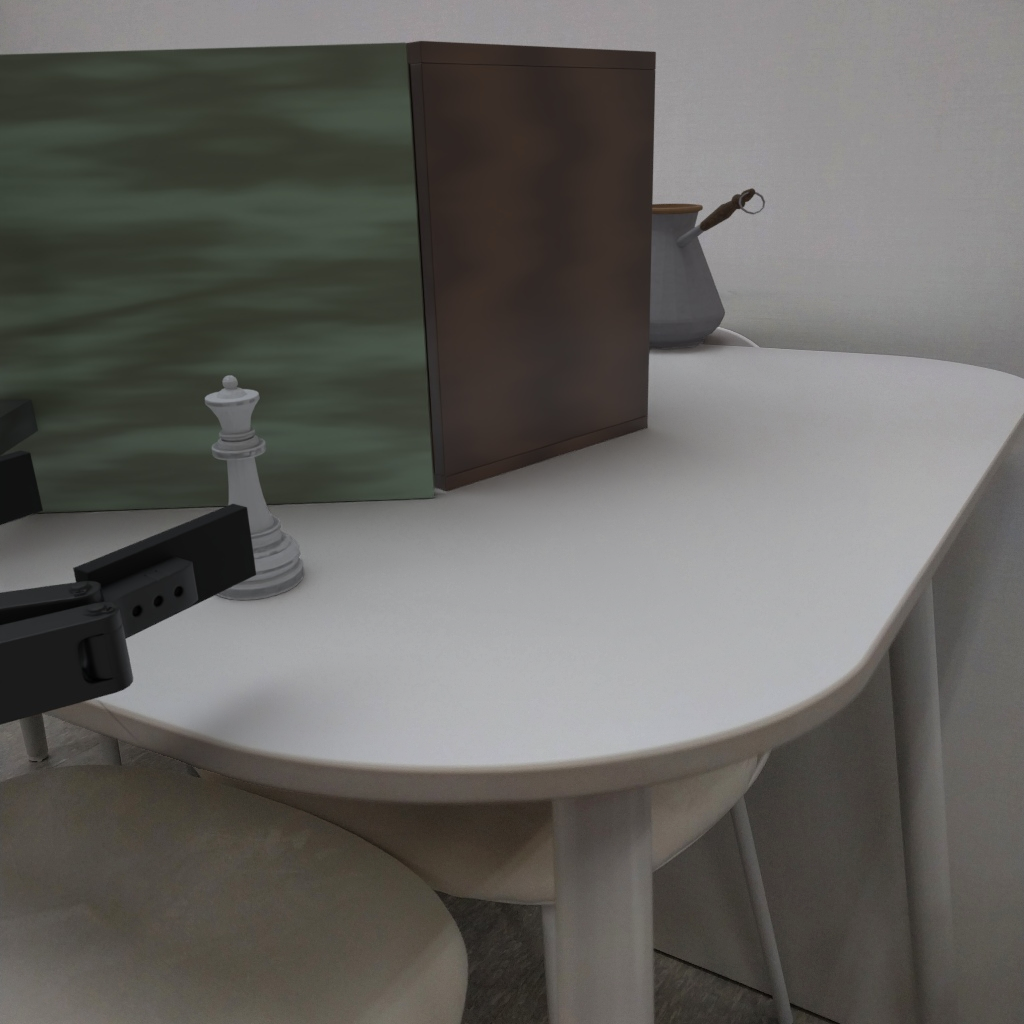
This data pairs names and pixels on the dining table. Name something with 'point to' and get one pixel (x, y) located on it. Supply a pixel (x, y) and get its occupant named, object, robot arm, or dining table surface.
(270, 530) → the chess piece
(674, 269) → the coffee pot
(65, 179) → the cabinet door
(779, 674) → the dining table surface
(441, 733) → the dining table surface
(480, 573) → the dining table surface
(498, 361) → the cabinet
